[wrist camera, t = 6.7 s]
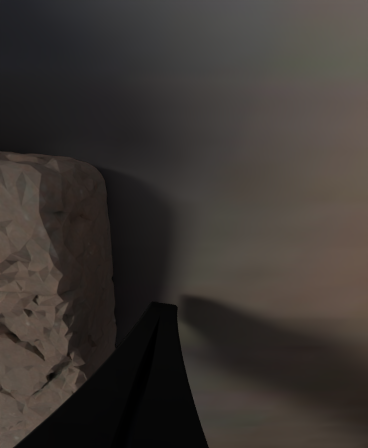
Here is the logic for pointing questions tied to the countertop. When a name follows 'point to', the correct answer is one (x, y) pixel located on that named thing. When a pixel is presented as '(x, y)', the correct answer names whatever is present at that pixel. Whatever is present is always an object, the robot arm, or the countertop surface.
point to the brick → (51, 286)
